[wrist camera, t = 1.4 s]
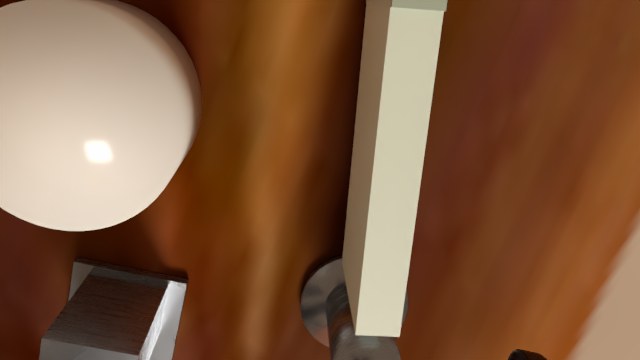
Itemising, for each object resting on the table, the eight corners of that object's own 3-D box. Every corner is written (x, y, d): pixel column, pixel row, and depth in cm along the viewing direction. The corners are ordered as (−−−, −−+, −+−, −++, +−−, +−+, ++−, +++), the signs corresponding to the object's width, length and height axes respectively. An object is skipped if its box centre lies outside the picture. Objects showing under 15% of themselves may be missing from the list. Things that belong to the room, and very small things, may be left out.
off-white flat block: (376, 261, 23) (400, 340, 17) (341, 260, 23) (355, 339, 17) (408, -19, 19) (450, -23, 14) (367, -22, 19) (395, -27, 14)
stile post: (171, 361, 24) (142, 452, 19) (66, 341, 23) (8, 430, 19) (188, 279, 23) (160, 354, 18) (77, 257, 22) (19, 328, 18)
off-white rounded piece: (184, 206, 22) (162, 251, 18) (-2, 166, 21) (-66, 204, 17) (219, 26, 20) (201, 33, 16) (14, -26, 19) (-55, -31, 15)
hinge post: (389, 354, 24) (412, 442, 20) (289, 335, 24) (289, 421, 19) (419, 265, 23) (452, 335, 18) (315, 243, 23) (321, 309, 18)
